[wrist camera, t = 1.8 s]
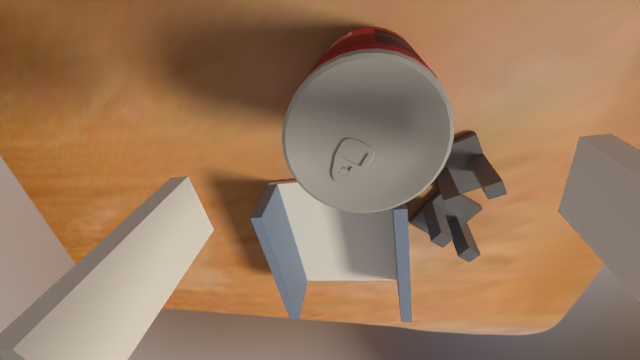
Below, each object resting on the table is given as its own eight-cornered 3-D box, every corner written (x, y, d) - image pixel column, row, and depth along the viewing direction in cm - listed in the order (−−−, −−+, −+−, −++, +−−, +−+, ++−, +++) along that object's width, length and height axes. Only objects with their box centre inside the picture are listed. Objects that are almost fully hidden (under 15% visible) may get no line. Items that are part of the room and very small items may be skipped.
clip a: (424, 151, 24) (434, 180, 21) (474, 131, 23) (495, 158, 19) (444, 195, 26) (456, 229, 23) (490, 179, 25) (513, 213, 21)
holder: (269, 182, 28) (250, 218, 24) (400, 170, 26) (407, 209, 21) (300, 277, 35) (290, 319, 31) (405, 276, 33) (411, 322, 28)
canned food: (309, 121, 24) (274, 198, 15) (325, 15, 20) (289, 31, 11) (398, 140, 24) (417, 229, 15) (434, 36, 20) (491, 72, 11)
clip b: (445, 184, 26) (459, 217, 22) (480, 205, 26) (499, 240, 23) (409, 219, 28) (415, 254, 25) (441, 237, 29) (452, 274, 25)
